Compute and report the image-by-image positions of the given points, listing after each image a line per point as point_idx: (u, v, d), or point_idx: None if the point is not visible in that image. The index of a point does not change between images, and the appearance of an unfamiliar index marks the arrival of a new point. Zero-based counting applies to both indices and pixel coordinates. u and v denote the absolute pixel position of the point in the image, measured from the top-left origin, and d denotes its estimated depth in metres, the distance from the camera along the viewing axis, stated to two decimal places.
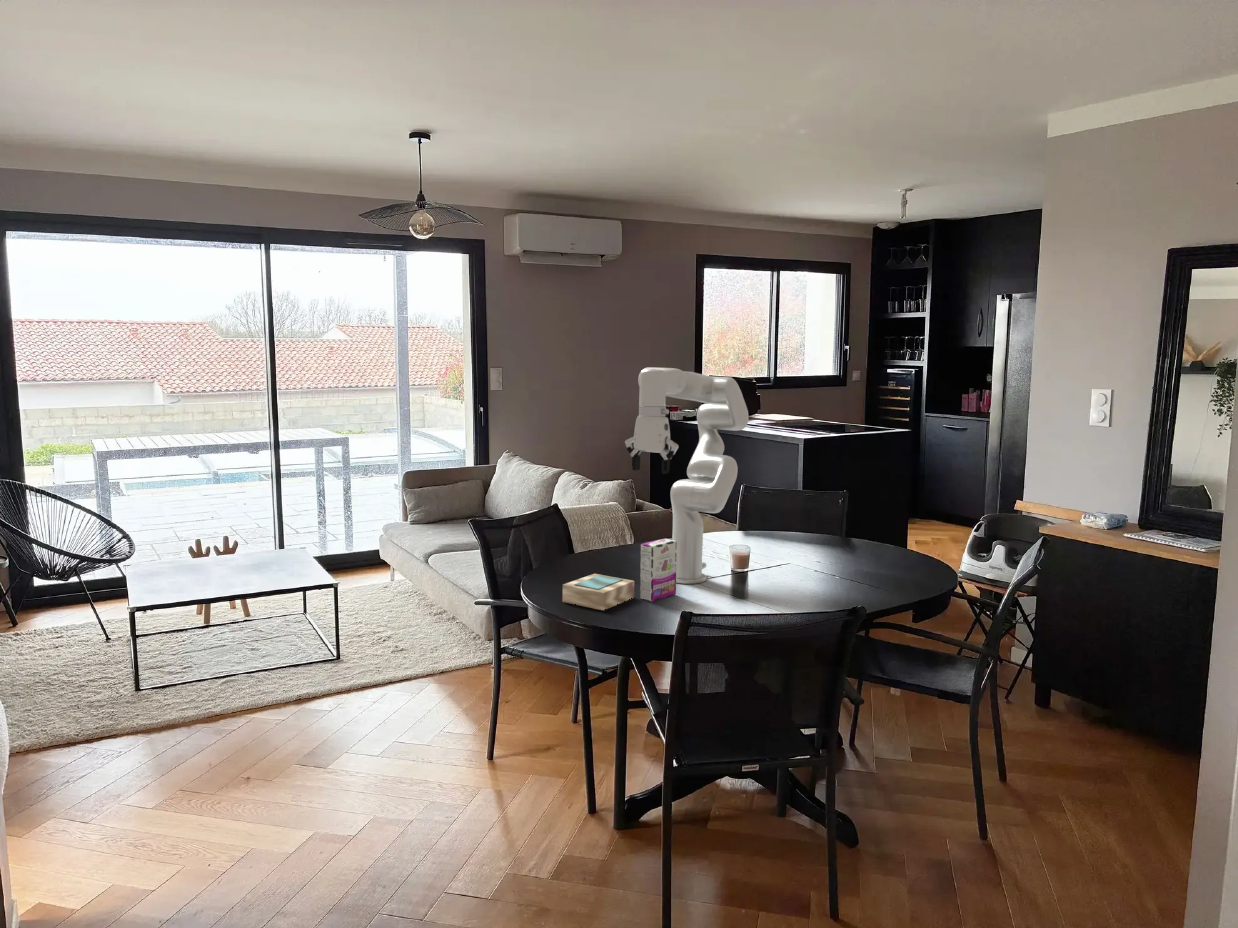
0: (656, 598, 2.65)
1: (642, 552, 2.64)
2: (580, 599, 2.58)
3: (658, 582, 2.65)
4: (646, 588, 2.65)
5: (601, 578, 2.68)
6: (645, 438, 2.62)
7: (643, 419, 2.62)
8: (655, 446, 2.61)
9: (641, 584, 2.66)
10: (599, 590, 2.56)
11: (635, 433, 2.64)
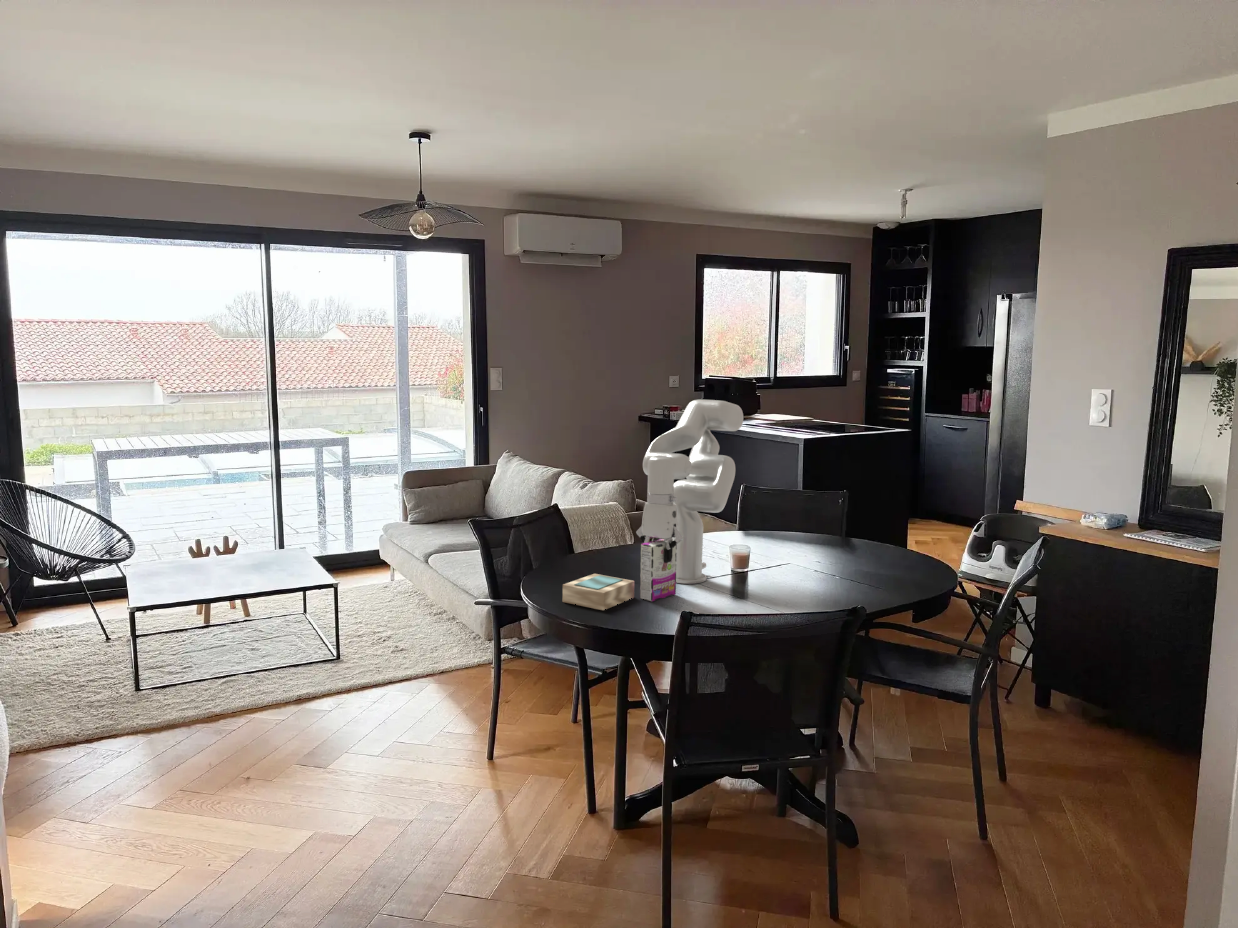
0: (656, 598, 2.65)
1: (642, 552, 2.64)
2: (580, 599, 2.58)
3: (658, 582, 2.65)
4: (646, 587, 2.64)
5: (601, 578, 2.68)
6: (653, 525, 2.65)
7: (651, 506, 2.64)
8: (663, 533, 2.63)
9: (641, 584, 2.66)
10: (599, 590, 2.56)
11: (643, 519, 2.67)
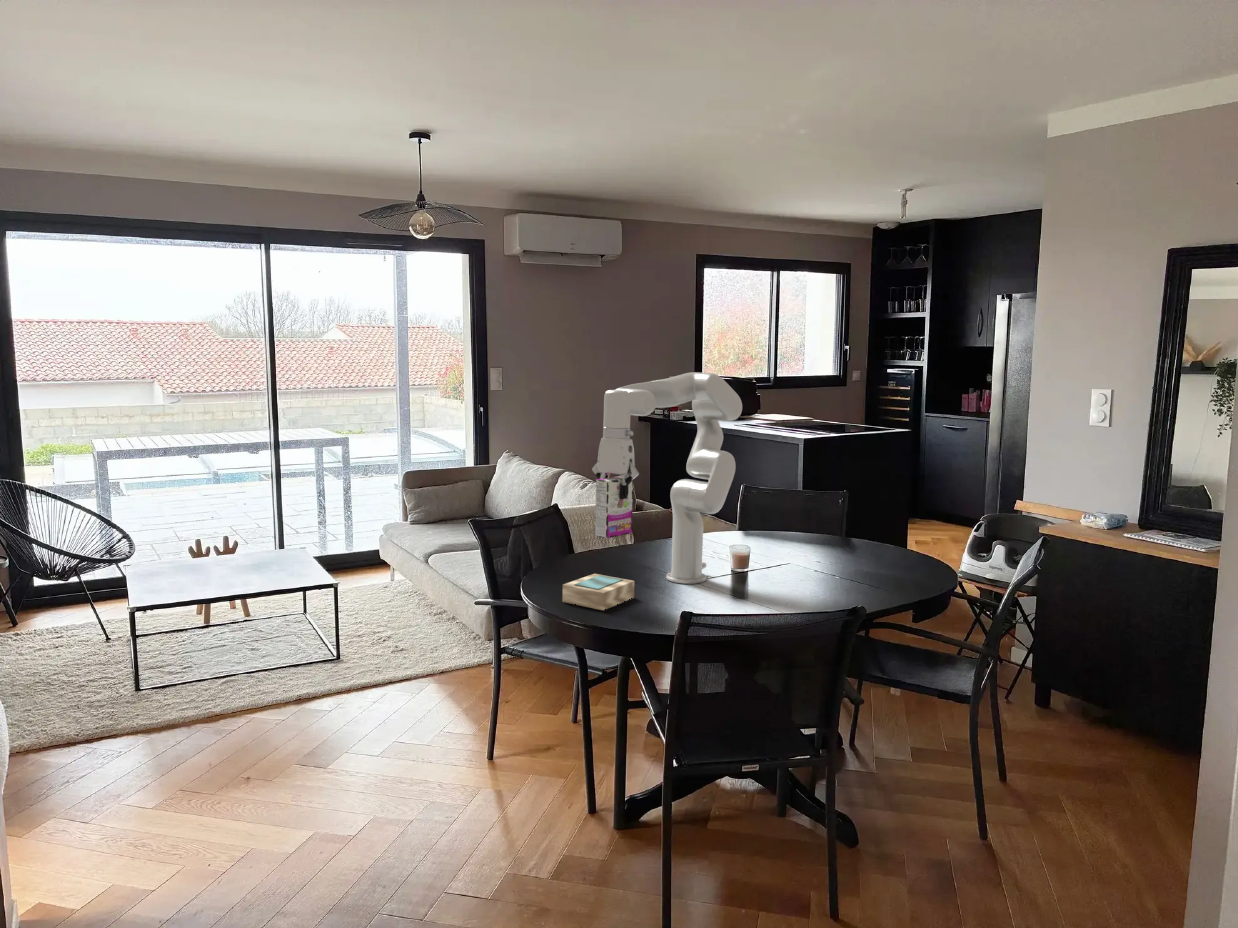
0: (612, 535, 2.59)
1: (597, 488, 2.58)
2: (580, 599, 2.58)
3: (613, 519, 2.59)
4: (601, 524, 2.58)
5: (601, 578, 2.68)
6: (609, 460, 2.59)
7: (607, 441, 2.58)
8: (619, 468, 2.57)
9: (596, 521, 2.60)
10: (599, 590, 2.56)
11: (599, 455, 2.61)
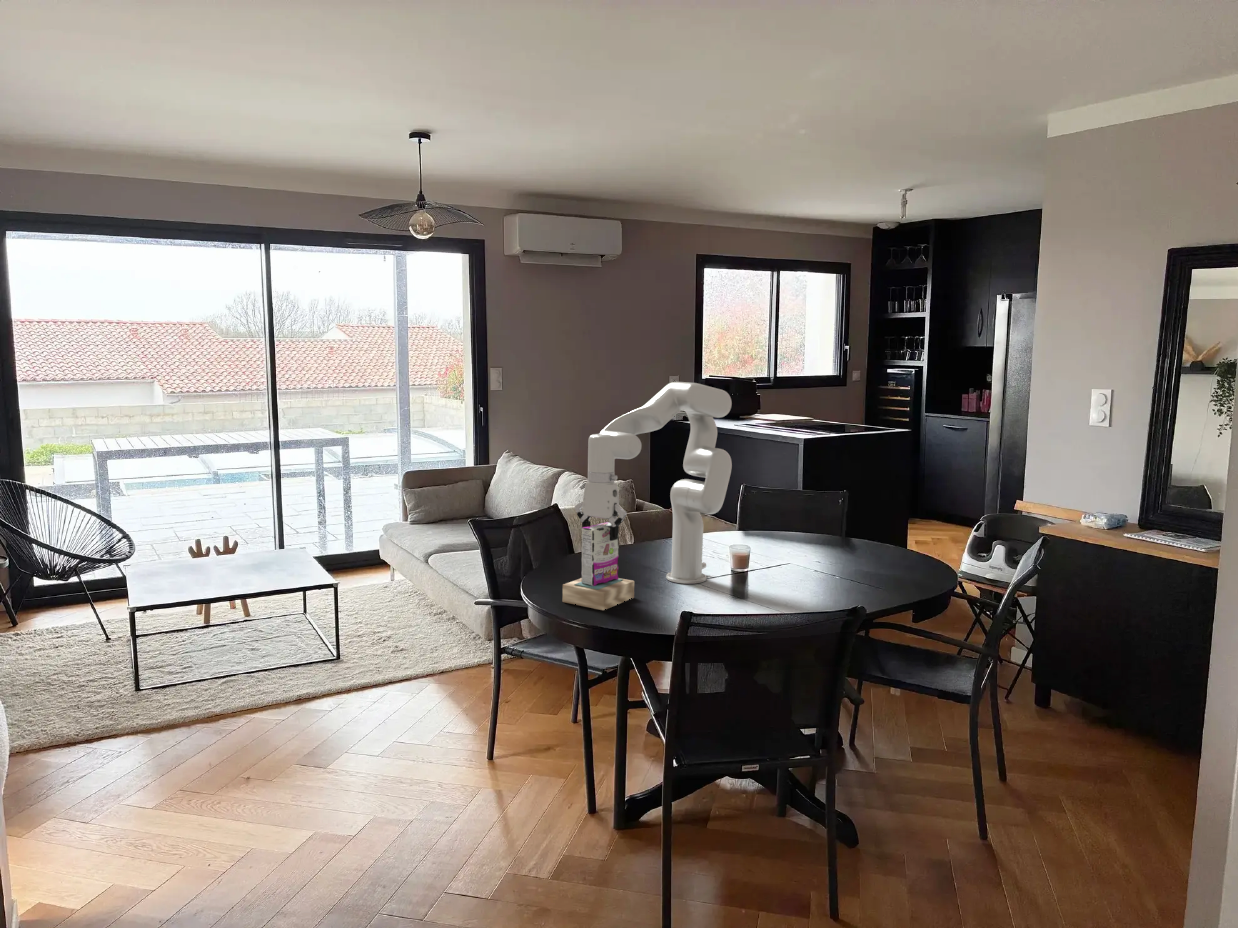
0: (598, 582, 2.60)
1: (583, 536, 2.59)
2: (580, 599, 2.58)
3: (599, 567, 2.60)
4: (587, 572, 2.59)
5: None
6: (594, 504, 2.59)
7: (592, 485, 2.59)
8: (603, 512, 2.58)
9: (582, 569, 2.61)
10: (599, 590, 2.56)
11: (584, 498, 2.61)
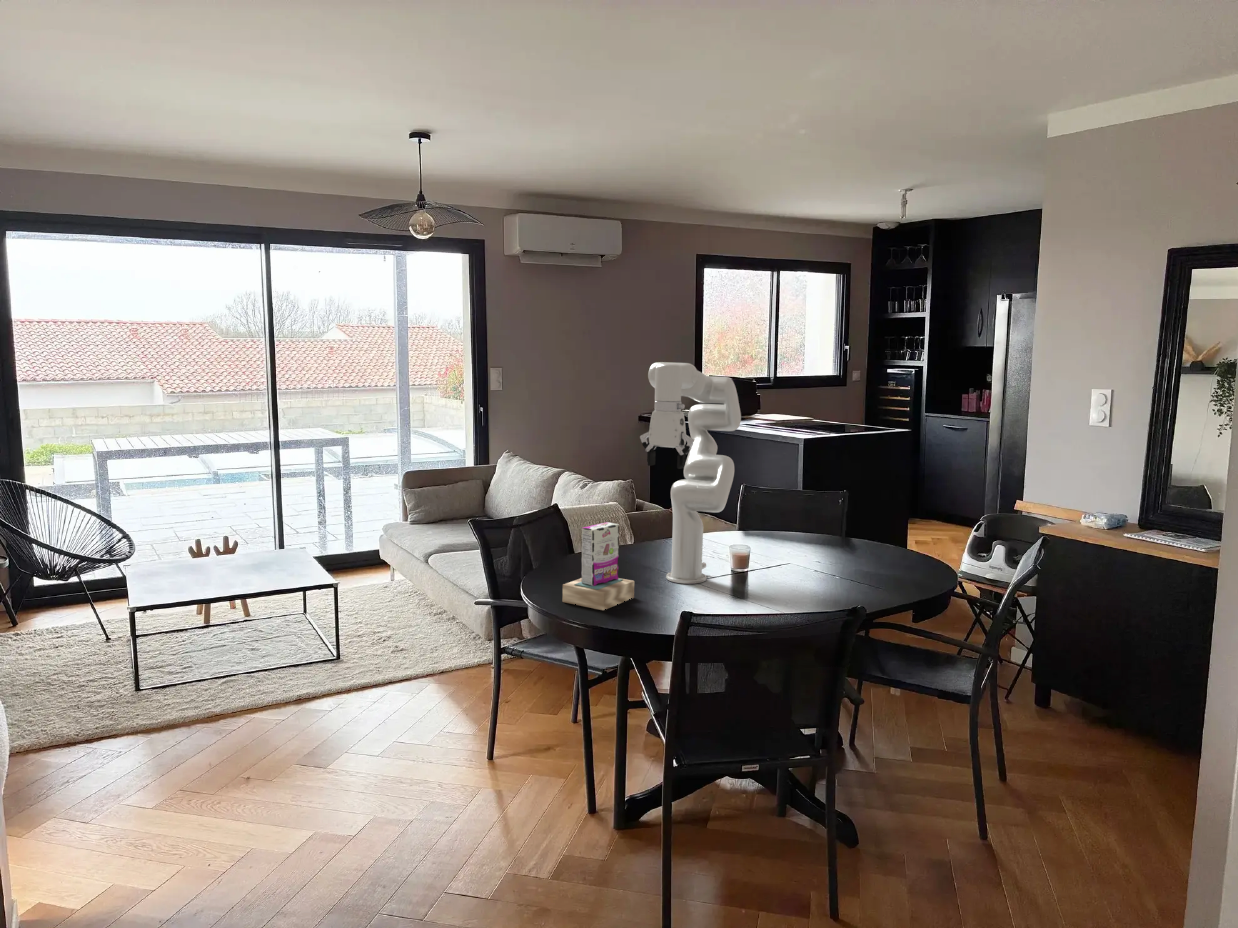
0: (598, 582, 2.60)
1: (583, 536, 2.59)
2: (580, 599, 2.58)
3: (599, 567, 2.60)
4: (587, 572, 2.59)
5: None
6: (661, 433, 2.61)
7: (659, 414, 2.61)
8: (671, 441, 2.60)
9: (582, 569, 2.61)
10: (599, 590, 2.56)
11: (650, 428, 2.63)
